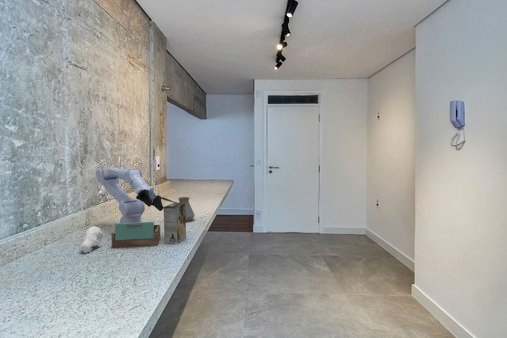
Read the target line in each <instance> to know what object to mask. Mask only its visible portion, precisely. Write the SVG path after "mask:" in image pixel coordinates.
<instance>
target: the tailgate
mask: <svg viewBox="0 0 507 338" xmlns="http://www.w3.org/2000/svg"><path fill="white" fill-rule="evenodd" d="M154 225H155V222H154V221H143V222H142V221H141V222H136V223H120V222H118V223H115V224H114V231H115V240H131V239H150V238H154Z"/></svg>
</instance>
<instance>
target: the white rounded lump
mask: <svg viewBox="0 0 507 338" xmlns="http://www.w3.org/2000/svg"><path fill="white" fill-rule="evenodd" d="M103 233H104V232H103V231H102V229H101V228H100V227H97V226H95V225H93V226H90V227H88V228H87V229H86V231H85V233H84V237H83V238H82V243H81V244H80V248H79V249H80V250H81V251H82V252H83V253H84V254H87V253H88V252H89V253H90V252H91V253H92V250H93V248H92V247H94V246H97V247H98V248H101V247H102V239H103Z"/></svg>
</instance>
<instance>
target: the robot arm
mask: <svg viewBox="0 0 507 338" xmlns="http://www.w3.org/2000/svg"><path fill="white" fill-rule="evenodd" d="M95 171H96V172H95V175H96V181H98V183H99V184H100V185H101V186H103V187H104V189H105V190H106V192H107V193H108V194H109V195H111V197H112V198H114V200H115V201H117V202H118V203H119V206H118V210H119V212H120V214H121V215H122V216H121V217H120V219H119V223H136V222H142V216H143V214H144V212H145V210H146V207H145V206H147V207H154V208H155V209H156V210H158V211H159V212H163V211H164V208H163V207H164V205H163V202H162V201H163V200H162V199H161V197H162V196H161V195H160V194H157V195H156V194H155V192H154V190H155V189H154V187H150V186H149V185H148V184H147V182H146V181H145V180H144V178H143V175H142V171H141V170H140V169H134V170H133V168H128V167H127V166H123V167H121V168H119V167H115V166H114V167H104V168H101V167H98V168H97V170H95ZM120 180H121V181H122V180H123V181H124V182H125V183H126V184H129V186H132V188H133V189H134V190H133V191H134V193H135V194H136V197H134V198H132V197H130V196H129V195H128V194H127V193H126V191H124V190H123V189H122V188H121V187H120V186H118V185H119V184H120Z"/></svg>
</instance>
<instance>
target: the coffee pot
mask: <svg viewBox="0 0 507 338" xmlns="http://www.w3.org/2000/svg"><path fill="white" fill-rule="evenodd" d="M190 199H191V197H188V196H181V197H178V198H177V200H178V202H177V201H173V200H171V199H169V198H166V197H164V196H163V197H162V196H161V200H162V201H166V202H170V203H180V204H185V215H186V223H187V221H188V222H191V221H192V220H193V219H194V218H195V213H194V211H193V208H192V206H191V204H190V202H189V200H190Z"/></svg>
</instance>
